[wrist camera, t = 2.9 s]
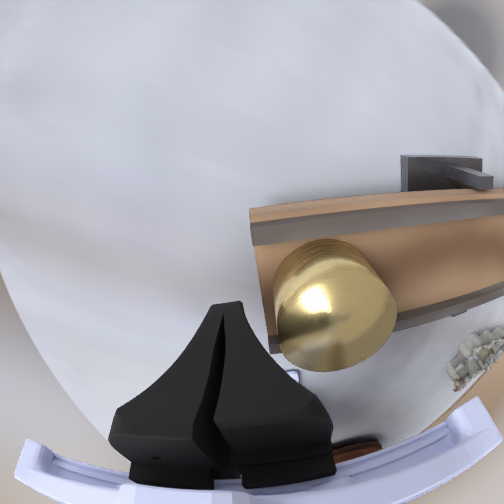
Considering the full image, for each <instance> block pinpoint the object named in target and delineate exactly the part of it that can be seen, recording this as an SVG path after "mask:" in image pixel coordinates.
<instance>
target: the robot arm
mask: <svg viewBox="0 0 504 504" xmlns="http://www.w3.org/2000/svg"><path fill="white" fill-rule="evenodd" d="M332 431H333V424H332V421H331V418H330V416H329V414H328V412H327V411H326V409H325V408H324V406H323V405H322V403H321V402H320V400H319V399H318V398H317V396H316V395H315V394H313V393H312V392H310V391H309V390H307V389H306V388H305V387H303V386H302V385H301V384H299V376H298V373H297V372H296V371H289V372H285V371H284V370H283V369H282V368H281V367H280V366H279V365H278V364H277V363H276V362H275V361H274V359H273V358H272V357H271V356H270V355H269V354H268V352H267V351H266V350H265V349H264V347H263V346H262V344H261V343H260V342H259V340H258V339H257V337H256V335H255V334H254V332H253V330H252V329H251V327H250V325H249V323H248V321H247V319H246V316H245V313H244V308H243V303H242V302H240V301H235V302H228V303H222V304H215V305H212V306H211V307H210V308H209V310H208V312H207V314H206V316H205V318H204V320H203V322H202V323H201V325H200V327H199V328H198V330H197V332H196V333H195V335H194V337H193V338H192V340H191V341H190V342H189V344H188V345H187V347H186V348H185V350H184V351H183V352H182V354H181V355H180V356H179V357H178V359H177V360H176V361H175V362H174V363H173V365H172V366H171V367H170V368H169V369H168V370H167V371H166V372H165V373H164V374H163V375H162V376H161V377H160V378H159V379H158V380H157V381H155V382H154V383H153V384H152V385H151V386H150V387H148V388H147V389H146V390H145V391H143V392H142V393H141V394H139V395H138V396H136V397H135V398H133V399H132V400H130V401H129V402H127V403H126V404H124V405H123V406H121V407H119V408H117V410H116V413H115V415H114V418H113V422H112V426H111V430H110V434H109V438H108V441H109V443H110V444H111V445H112V447H113V448H114V449H115V450H117V451H118V452H119V453H120V454H122V455H123V456H124V457H125V458H127V459H128V460H129V461H131V467H130V472H129V473H127V472H121V471H116V470H112V469H107V468H103V467H98V466H94V465H90V464H87V463H83V462H79V461H76V460H73V459H70V458H67V457H64V456H61V455H58V454H55V453H54V452H53V451H52V450H50V449H49V448H48V447H46V446H45V445H43V444H41V443H39V442H36V441H34V440H31V439H29V438H27V439H26V441H25V444H24V447H23V449H22V452H21V455H20V458H19V461H18V464H17V467H16V470H15V473H14V477H15V478H16V479H18V480H20V481H21V482H23V483H24V484H26V485H27V486H29V487H31V488H33V489H34V490H36V491H38V492H40V493H41V494H43V495H45V496H47V497H49V498H51V499H53V500H55V501H57V502H59V503H61V504H405V503H408V502H410V501H412V500H414V499H416V498H418V497H420V496H422V495H424V494H426V493H428V492H430V491H431V490H433V489H435V488H437V487H439V486H441V485H442V484H444V483H446V482H448V481H449V480H451V479H453V478H454V477H456V476H457V475H459V474H460V473H462V472H464V471H465V470H466V469H468V468H469V467H471V466H472V465H474V464H475V463H476V462H478V461H479V460H480V459H481V458H483V457H484V456H485V455H486V454H488V453H489V452H490V451H491V450H492V449H494V448H495V447H496V446H497V445H498V444H499V443H500V442H502V440H503V438H502V436H501V434H500V433H499V431H498V429H497V427H496V425H495V424H494V422H493V420H492V418H491V417H490V415H489V413H488V412H487V410H486V408H485V407H484V405H483V403H482V402H481V400H480V399H479V397H478V396H476V397H474V398H472V399H471V400H469V401H468V402H466V403H465V404H463V405H461V406H459V407H458V408H456V409H455V410H454V411H453V412H452V413H451V414H450V415H449V416H448V418H447V419H446V421H444V422H442V423H441V424H439V425H437V426H435V427H433V428H431V429H429V430H427V431H425V432H423V433H420V434H418V435H416V436H414V437H412V438H409V439H407V440H405V441H402V442H400V443H398V444H395V445H393V446H390V447H387V448H385V449H382V450H379V451H376V452H374V453H371V454H368V455H365V456H361V457H358V458H355V459H352V460H348V461H345V462H341V463H337V464H335V461H334V457H333V453H332V452H333V447H332V444H331V436H332Z"/></svg>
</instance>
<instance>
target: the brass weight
mask: <svg viewBox="0 0 504 504" xmlns="http://www.w3.org/2000/svg"><path fill="white" fill-rule="evenodd" d="M273 298H274V306H275V315H276V324H277V333H278V342H279V346H280V349H281V351H282V353H283V355H284V356H285V358H286V359H287V360H288V361H290V362H291V363H292V364H294V365H295V366H297V367H299V368H302V369H305V370H309V371H315V372H331V371H337V370H341V369H345V368H348V367H351V366H353V365H356V364H358V363H360V362H362V361H364V360H365V359H367V358H368V357H370V356H371V355H372V354H374V353H375V352H376V351H377V350H378V349H379V348H380V347H381V346H382V345H383V344H384V343H385V342H386V340H387V339H388V338H389V336H390V334H391V333H392V331H393V328H394V326H395V323H396V318H397V307H396V302H395V300H394V297H393V296H392V294H391V293H390V291H389V290H388V288H387V287H386V286H385V284H384V283H383V281H382V280H381V279H380V277H379V276H378V275H377V273H376V272H375V270H374V269H373V268H372V266H371V265H370V264H369V262H368V261H367V260H366V259H365V257H364V256H363V255H362V253H361V252H360V251H359V250H358V249H357V248H356V247H354V246H353V245H351V244H349V243H347V242H345V241H342V240H337V239H319V240H314V241H311V242H308V243H306V244H303V245H301V246H299V247H298V248H296V249H295V250H293V251H292V252H291V253H290V254H288V255H287V256H286V258H285V259H284V260H283V261H282V262H281V264H280V265H279V267H278V269H277V271H276V273H275V276H274V280H273Z"/></svg>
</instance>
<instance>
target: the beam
mask: <svg viewBox="0 0 504 504" xmlns="http://www.w3.org/2000/svg"><path fill="white" fill-rule="evenodd" d="M249 218H250V231H251V237H252V243H253V246H254V250H255V256H256V262H257V269H258V275H259V281H260V288H261V294H262V300H263V307H264V313H265V319H266V326H267V332H268V342H269V350H270V354H277V353H282V351H281V349H280V346H279V342H278V333H277V324H276V315H275V306H274V298H273V280H274V276H275V273H276V271H277V269H278V267H279V265H280V264H281V262H282V261H283V260H284V259H285V258H286V256H287V255H288V254H290V253H291V252H292V251H293V250H295V249H296V248H298V247H299V246H301V245H303V244H306V243H308V242H311V241H314V240H319V239H337V240H342V241H345V242H347V243H349V244H351V245H353V246H354V247H356V248H357V249H358V250H359V251H360V252H361V253H362V255H363V256H364V257H365V259H366V260H367V261H368V262H369V264H370V265H371V266H372V268H373V269H374V270H375V272H376V273H377V275H378V276H379V277H380V279H381V280H382V281H383V283H384V284H385V286H386V287H387V288H388V290H389V291H390V293H391V294H392V296H393V297H394V300H395V302H396V307H397V318H396V323H395V326H394V328H393V331H392V332H395V331H399V330H403V329H406V328H410V327H414V326H417V325H421V324H424V323H428V322H431V321H434V320H438V319H441V318H444V317H447V316H450V315H453V314H456V313H459V312H462V311H465V310H467V309H470V308H473V307H476V306H478V305H481V304H484V303H486V302H489V301H491V300H494V299H496V298H499V297H501V296H503V295H504V188H493V189H484V190H478V189H449V190H429V191H412V192H398V193H384V194H372V195H361V196H350V197H340V198H330V199H321V200H312V201H304V202H295V203H287V204H279V205H272V206H264V207H257V208H250V209H249Z"/></svg>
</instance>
